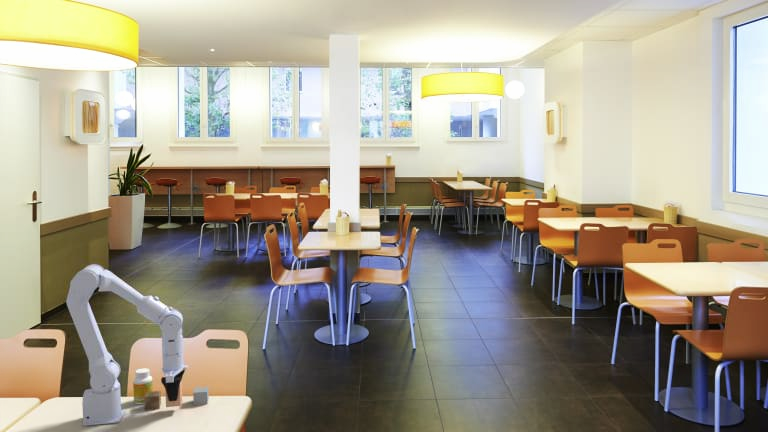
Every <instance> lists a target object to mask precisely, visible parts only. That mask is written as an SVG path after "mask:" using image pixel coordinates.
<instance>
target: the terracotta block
mask: <svg viewBox="0 0 768 432" xmlns="http://www.w3.org/2000/svg"><path fill="white" fill-rule="evenodd" d="M164 389H165V388H164ZM182 402H183V379H182V380H181V382H180V385H179V390H178V397H177V401H169V399H168V396H167V392H166V389H165V408H173V407H181V406H182Z"/></svg>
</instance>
